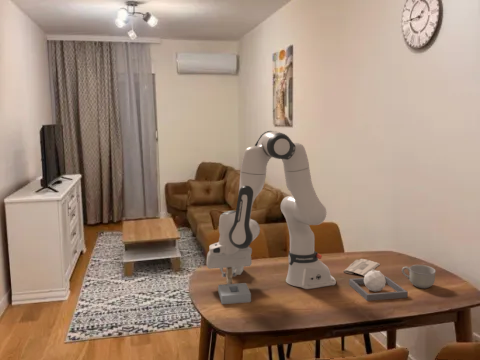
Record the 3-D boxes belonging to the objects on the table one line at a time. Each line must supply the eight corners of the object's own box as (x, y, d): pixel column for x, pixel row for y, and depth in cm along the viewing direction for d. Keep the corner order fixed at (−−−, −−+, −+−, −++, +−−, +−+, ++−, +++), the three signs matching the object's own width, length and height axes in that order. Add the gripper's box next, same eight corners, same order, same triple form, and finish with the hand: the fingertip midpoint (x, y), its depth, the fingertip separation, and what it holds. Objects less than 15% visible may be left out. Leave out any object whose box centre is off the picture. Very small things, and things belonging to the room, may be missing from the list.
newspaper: (356, 261, 231) (357, 256, 230) (379, 268, 224) (380, 263, 223) (339, 273, 213) (339, 268, 212) (363, 281, 206) (363, 276, 205)
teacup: (438, 285, 196) (439, 268, 194) (429, 292, 188) (430, 274, 187) (407, 277, 205) (408, 261, 204) (397, 284, 197) (398, 267, 196)
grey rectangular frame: (386, 281, 200) (386, 276, 200) (407, 297, 183) (407, 291, 182) (349, 284, 197) (349, 279, 197) (366, 300, 180) (367, 294, 179)
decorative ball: (367, 289, 198) (378, 266, 196) (381, 302, 189) (393, 279, 187) (352, 286, 195) (363, 262, 192) (366, 300, 185) (378, 275, 183)
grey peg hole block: (245, 290, 191) (245, 282, 190) (250, 302, 179) (250, 293, 179) (218, 292, 189) (218, 284, 188) (221, 304, 177) (221, 295, 177)
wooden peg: (230, 281, 201) (230, 265, 200) (232, 285, 196) (232, 268, 195) (226, 282, 201) (226, 265, 200) (227, 286, 196) (227, 269, 195)
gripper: (250, 243, 201) (250, 272, 203) (205, 245, 198) (206, 275, 200) (253, 247, 195) (253, 277, 197) (207, 249, 191) (207, 280, 193)
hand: (229, 276), depth 198 cm, fingers open, 3 cm apart
